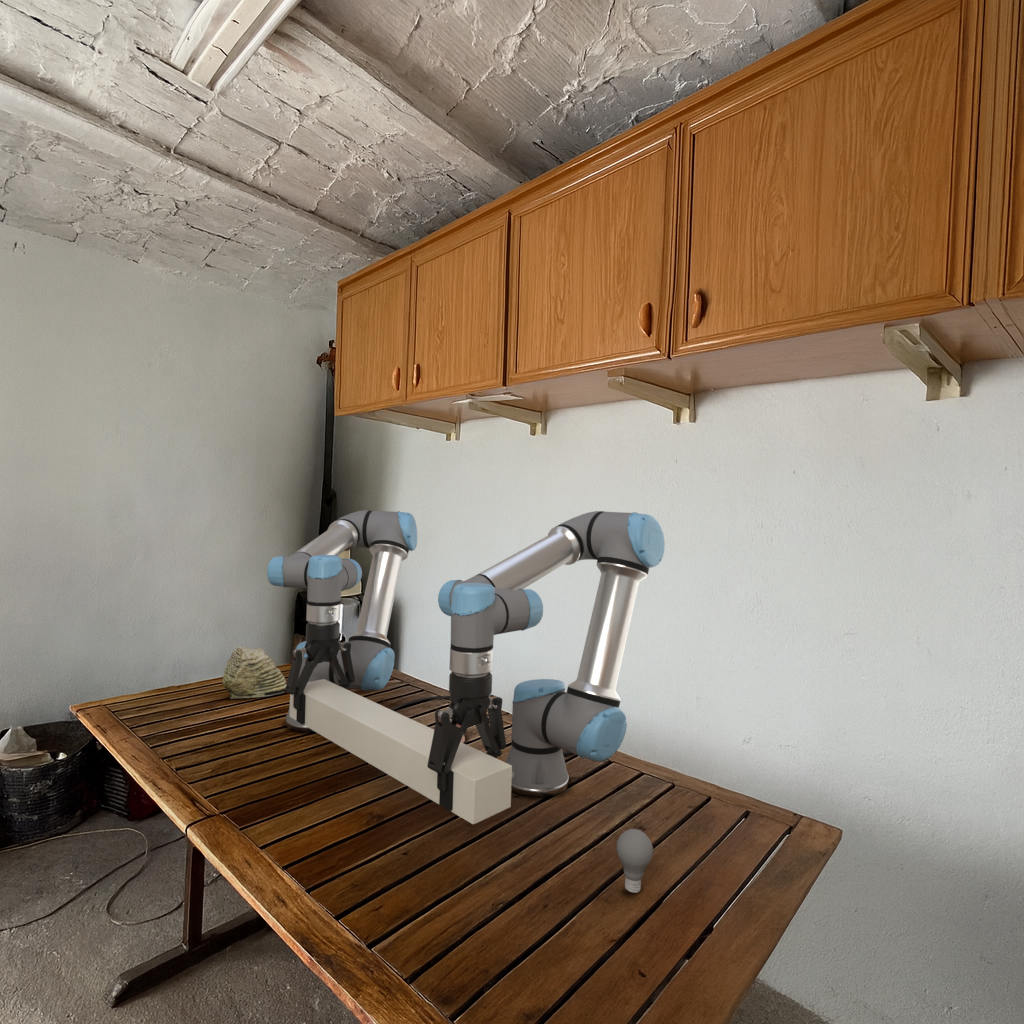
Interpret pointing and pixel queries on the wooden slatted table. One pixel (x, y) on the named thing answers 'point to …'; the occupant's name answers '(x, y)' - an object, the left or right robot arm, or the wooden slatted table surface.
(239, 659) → the fossil
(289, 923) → the wooden slatted table surface
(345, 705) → the long square beam
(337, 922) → the wooden slatted table surface
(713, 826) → the wooden slatted table surface
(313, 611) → the left robot arm
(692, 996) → the wooden slatted table surface
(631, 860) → the light bulb
